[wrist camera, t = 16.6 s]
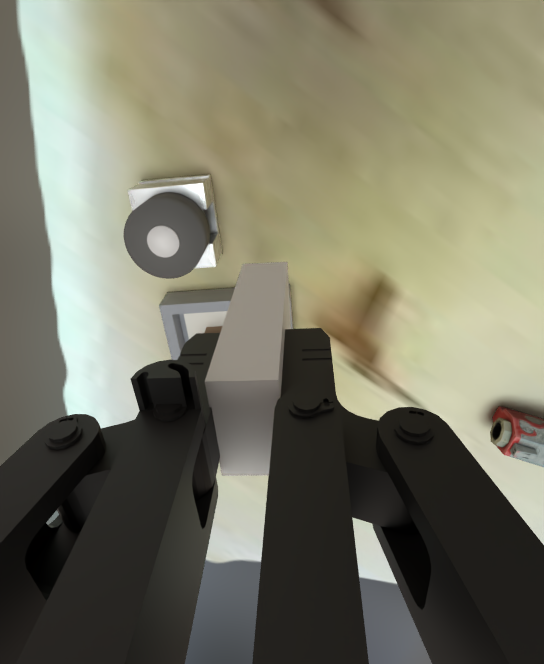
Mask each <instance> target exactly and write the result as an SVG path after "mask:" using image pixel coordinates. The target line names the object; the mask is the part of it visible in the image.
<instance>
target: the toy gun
mask: <svg viewBox="0 0 544 664" xmlns="http://www.w3.org/2000/svg"><path fill="white" fill-rule="evenodd" d="M492 419H493V426H492V429H491V432H490V434H491V442H492V443H493V444H495V445H496V446H497V447H498V449H499V450H500V451H501V452H502V453H503V454H504V455H506V456H510V457H513V458H516V459H519V460H522V461H526V462H529V463H532V464H535V465H539V466H542V467H544V419H542V418H539V417H536V416H533V415H529V414H526V413H522V412H519V411H516V410H512V409H509V408H505V407H501V406H499V407H498V408H497V410H496V412H495V414H494V415H493V417H492Z"/></svg>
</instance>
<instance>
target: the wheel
mask: <svg viewBox="0 0 544 664" xmlns="http://www.w3.org/2000/svg"><path fill="white" fill-rule="evenodd" d="M209 239H210V227H209V223H208V220H207V217H206V215H205V213H204V212H203V210H202V209H201V208H200V207H199V205H198V204H196V203H195V202H194V201H193V200H191V199H190V198H188V197H186V196H184V195H182V194H178V193H173V192H165V193H159V194H156V195H154V196H152V197H151V198H149V199H148V200H146V201H145V202H144V203H142V204H141V205H139V206H138V207H137V208H136V209H134V210H133V211H132V213H131V214H130V215H129V217H128V219H127V221H126V224H125V228H124V241H125V245H126V248H127V251H128V253H129V255H130V256H131V258H132V259H133V261H134V262H135V263H136V264H137V265H138V266H139V267H140V268H141V269H142V270H144V271H145V272H147V273H149V274H151V275H153V276H156V277H160V278H167V279H168V278H178V277H181V276H184V275H186V274H188V273H189V272H191V271H192V270H193V269H194V268H195V267H196V266H197V264H198V263H199V261H200V259H201V257H202V256H203V254H204V252H205V250H206V248H207V246H208V243H209Z"/></svg>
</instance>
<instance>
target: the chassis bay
mask: <svg viewBox="0 0 544 664" xmlns="http://www.w3.org/2000/svg"><path fill="white" fill-rule="evenodd" d="M234 289H235V288H223V289H209V290H195V291H180V292H167V294H166V295H165V297H164V298H163V300H162V302H161V303H160V305H159V308H160V312H161V316H162V320H163V324H164V328H165V333H166V337H167V341H168V345H169V349H170V353H171V358H172V360H177V359H178V357H179V356H180V353H181V350H182V348H183V346H184V344H185V343H186V342H187V341H188V340H189V339H190V338H191V337H193V336H194V335H195V334H196V333H205V330H206V327H215V326H223V323H224V320H225V317H226V314H227V311H228V308H229V305H230V302H231V299H232V295H233V292H234ZM289 299H290V317H291V329H293V316H292V303H291V290H290V284H289Z"/></svg>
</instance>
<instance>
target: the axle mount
mask: <svg viewBox="0 0 544 664" xmlns="http://www.w3.org/2000/svg"><path fill="white" fill-rule="evenodd" d="M165 192H173V193H178V194H182V195H184V196H186V197H188V198H190V199H191V200H193V201H194V202H195V203H196V204H198V205H199V207H200V208H201V209H202V210H203V212H204V213H205V215H206V217H207V220H208V223H209V227H210V239H209V243H208V246H207V248H206V250H205V252H204V254H203V256H202V257H201V259H200V261H199V263H198V264H197V266H196V267H195V268H205V267H216V266H217V264H218V261H219V259H220V257H221V256H222V254H223V252H222V246H221V239H220V233H219V226H218V219H217V213H216V206H215V200H214V193H213V187H212V180H211V174H206V175H195V176H184V177H173V178H162V179H151V180H142V181H140V182H139V184H137V185H135V186H134V187H132V188H130V189H129V190H128V194H129V198H130V202H131V207H132V211H133V210H134V209H136V208H137V207H138V206H139V205H141V204H142V203H144V202H145V201H146V200H148V199H149V198H151V197H152V196H154V195H156V194H159V193H165Z"/></svg>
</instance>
